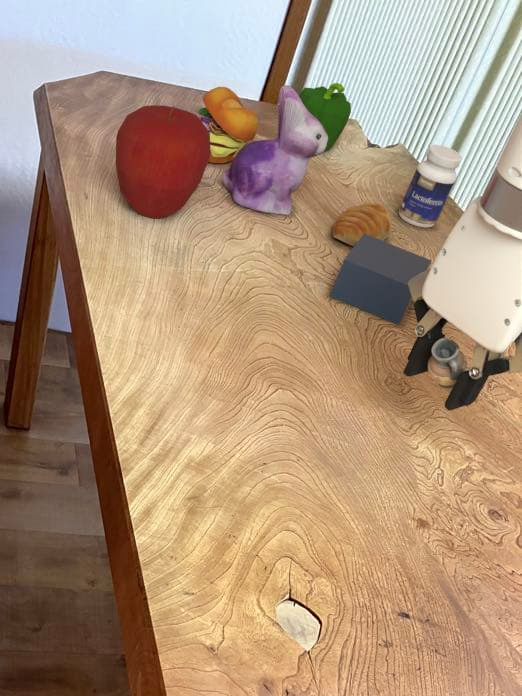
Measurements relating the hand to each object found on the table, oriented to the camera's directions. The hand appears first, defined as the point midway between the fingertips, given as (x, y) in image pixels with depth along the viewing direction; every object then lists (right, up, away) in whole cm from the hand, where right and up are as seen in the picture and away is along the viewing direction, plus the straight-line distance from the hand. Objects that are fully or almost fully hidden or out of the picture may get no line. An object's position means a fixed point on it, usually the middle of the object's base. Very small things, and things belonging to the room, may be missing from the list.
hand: (436, 387), depth 84 cm
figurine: (-10, +33, +42) cm, 54 cm away
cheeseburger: (-16, +44, +50) cm, 69 cm away
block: (+2, +16, +27) cm, 32 cm away
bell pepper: (+1, +49, +61) cm, 78 cm away
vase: (0, -1, +1) cm, 1 cm away
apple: (-26, +29, +33) cm, 51 cm away
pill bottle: (+14, +33, +47) cm, 59 cm away
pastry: (+3, +27, +39) cm, 48 cm away
